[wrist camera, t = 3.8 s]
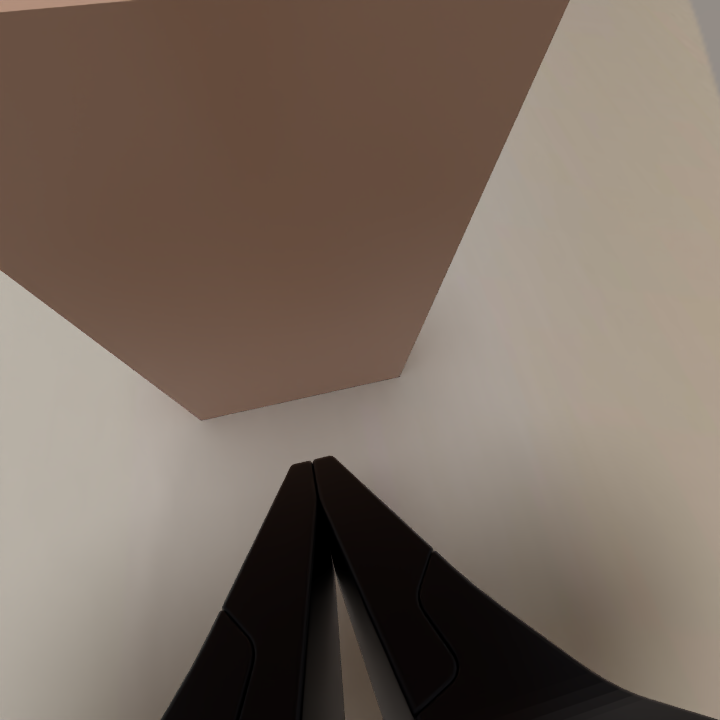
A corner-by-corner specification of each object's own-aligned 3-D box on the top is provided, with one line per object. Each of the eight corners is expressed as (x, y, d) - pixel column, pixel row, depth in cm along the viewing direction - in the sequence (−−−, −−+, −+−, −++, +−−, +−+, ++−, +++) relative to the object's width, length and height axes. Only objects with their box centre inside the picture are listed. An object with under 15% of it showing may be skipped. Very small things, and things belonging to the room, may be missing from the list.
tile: (399, 376, 18) (588, -41, 5) (201, 420, 17) (-310, 38, 3) (384, 327, 18) (510, -154, 5) (194, 365, 17) (-245, -118, 4)
